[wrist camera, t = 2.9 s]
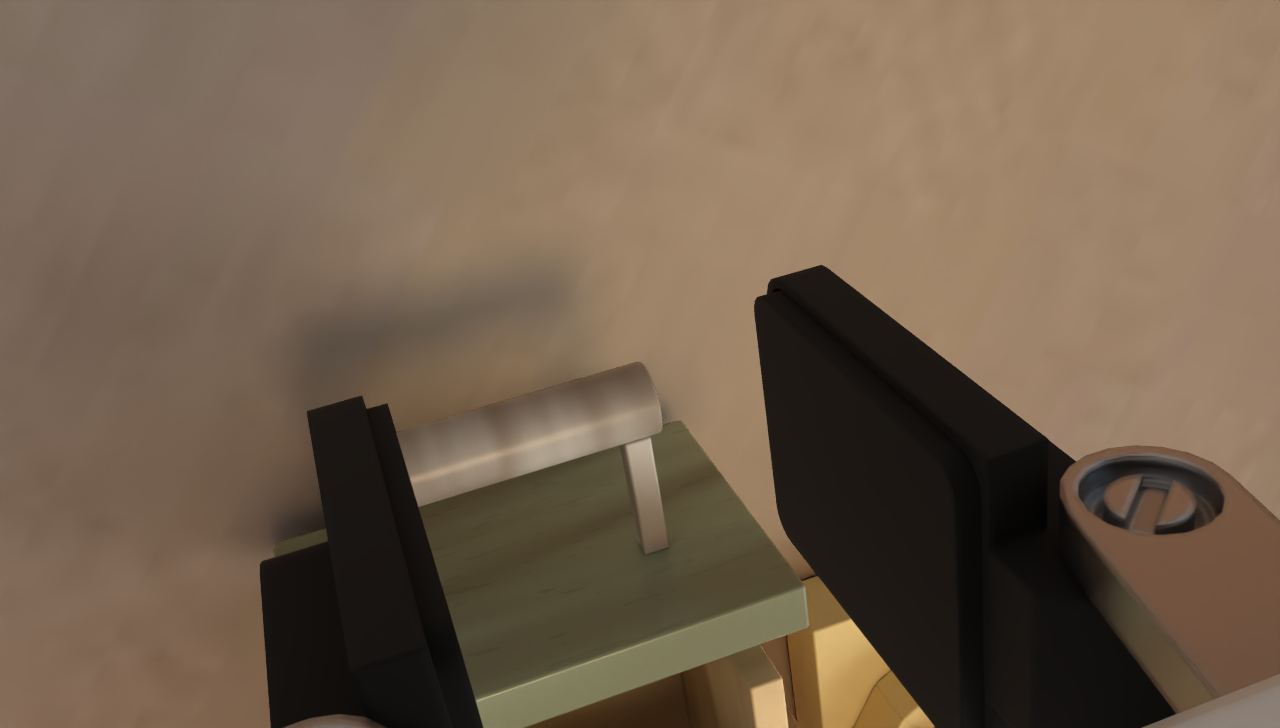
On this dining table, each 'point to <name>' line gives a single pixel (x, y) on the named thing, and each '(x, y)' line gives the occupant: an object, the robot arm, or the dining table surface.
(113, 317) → the dining table surface
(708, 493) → the drawer
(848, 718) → the button box
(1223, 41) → the dining table surface
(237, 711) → the dining table surface
